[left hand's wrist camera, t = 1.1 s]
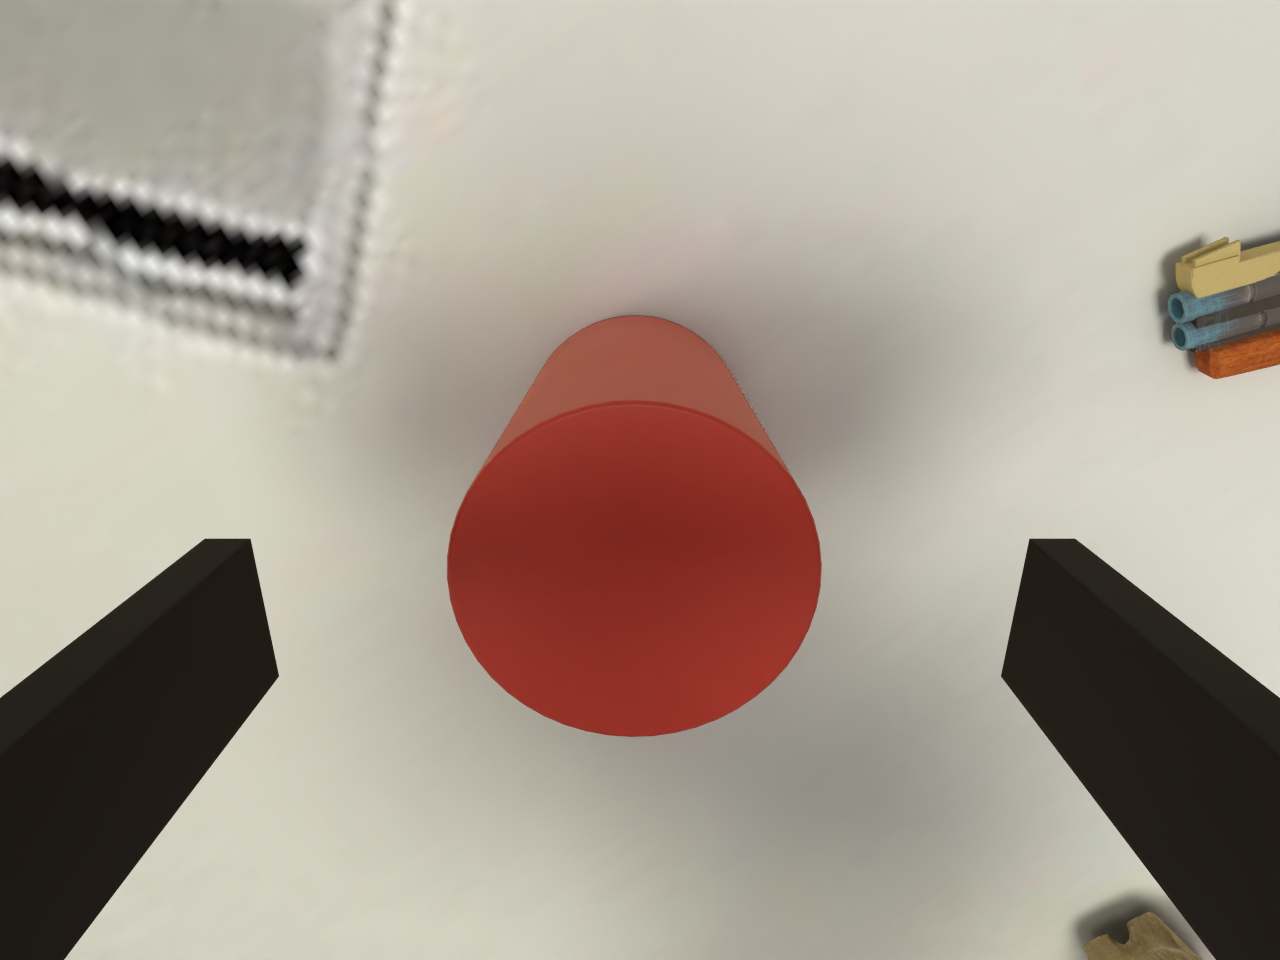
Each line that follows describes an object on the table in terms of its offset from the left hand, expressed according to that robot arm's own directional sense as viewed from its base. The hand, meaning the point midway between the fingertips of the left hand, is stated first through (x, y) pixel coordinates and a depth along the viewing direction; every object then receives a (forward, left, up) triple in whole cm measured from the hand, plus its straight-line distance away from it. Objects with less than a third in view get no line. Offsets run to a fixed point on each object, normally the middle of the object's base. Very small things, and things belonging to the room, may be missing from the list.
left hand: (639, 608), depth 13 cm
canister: (0, 0, -13) cm, 13 cm away
